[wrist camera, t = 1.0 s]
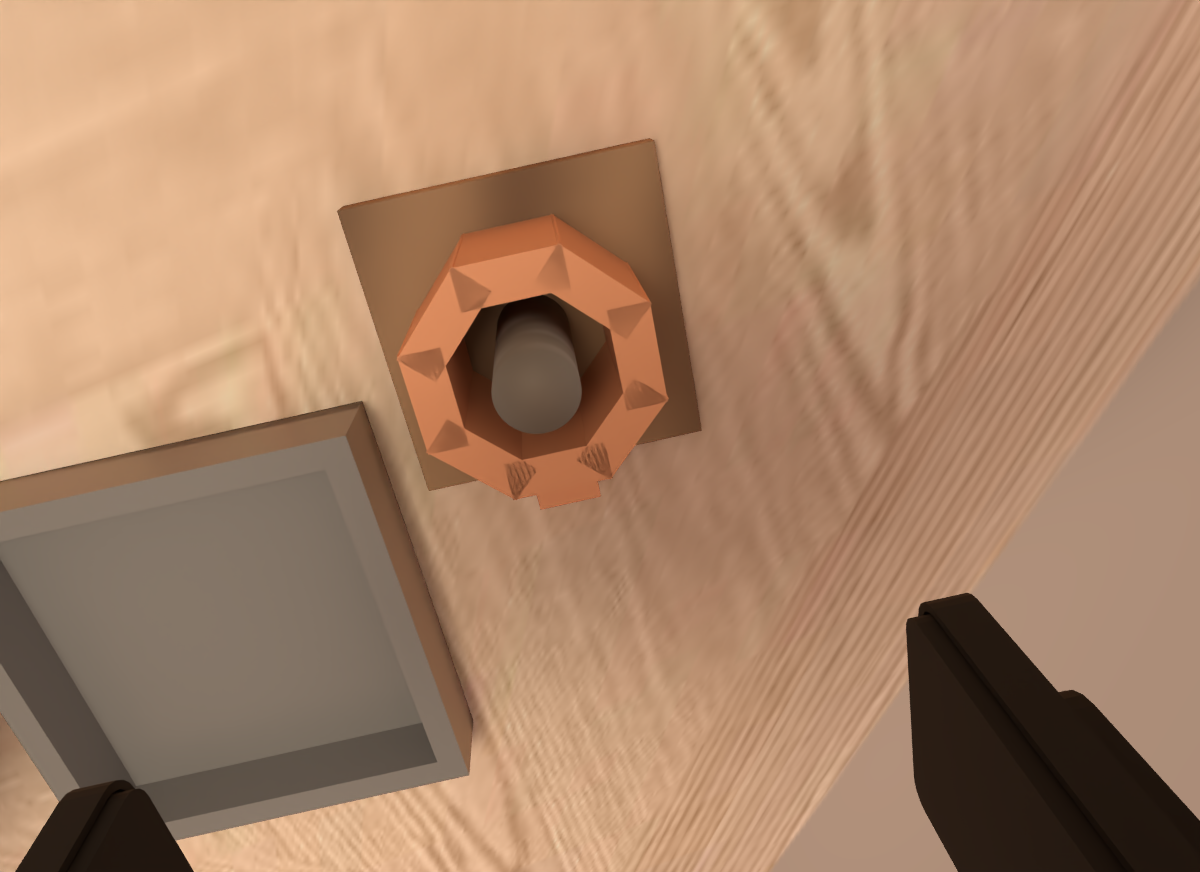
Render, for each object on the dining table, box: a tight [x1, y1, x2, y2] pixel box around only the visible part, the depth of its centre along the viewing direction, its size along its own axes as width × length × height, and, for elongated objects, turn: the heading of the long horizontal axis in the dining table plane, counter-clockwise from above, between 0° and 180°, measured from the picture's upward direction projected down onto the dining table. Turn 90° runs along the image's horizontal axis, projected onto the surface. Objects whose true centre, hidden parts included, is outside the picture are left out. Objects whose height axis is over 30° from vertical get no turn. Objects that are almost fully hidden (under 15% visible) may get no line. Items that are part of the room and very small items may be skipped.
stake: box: [337, 138, 702, 491], centre depth 25 cm, size 10×10×7 cm
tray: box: [0, 401, 473, 840], centre depth 31 cm, size 15×15×3 cm
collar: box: [397, 214, 669, 510], centre depth 25 cm, size 7×9×5 cm
